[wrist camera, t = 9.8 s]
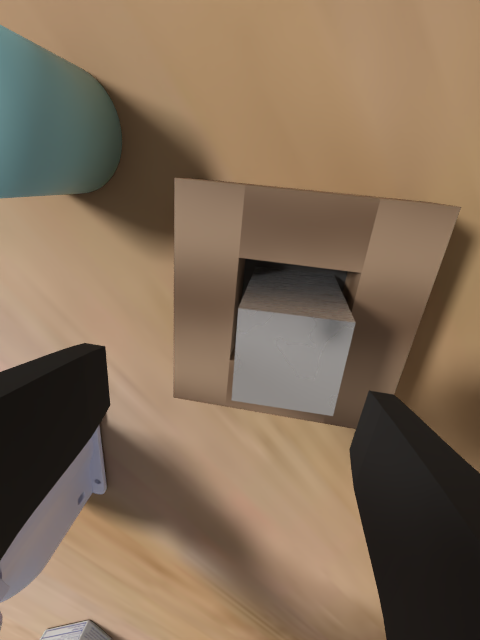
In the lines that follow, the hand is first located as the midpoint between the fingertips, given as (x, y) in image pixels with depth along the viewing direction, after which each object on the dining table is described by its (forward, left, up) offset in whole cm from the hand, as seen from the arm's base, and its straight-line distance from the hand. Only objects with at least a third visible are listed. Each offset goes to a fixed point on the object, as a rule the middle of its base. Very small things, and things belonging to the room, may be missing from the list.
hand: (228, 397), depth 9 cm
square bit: (-1, -2, -9) cm, 9 cm away
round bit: (+7, +10, -10) cm, 16 cm away
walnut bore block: (0, -2, -10) cm, 10 cm away
